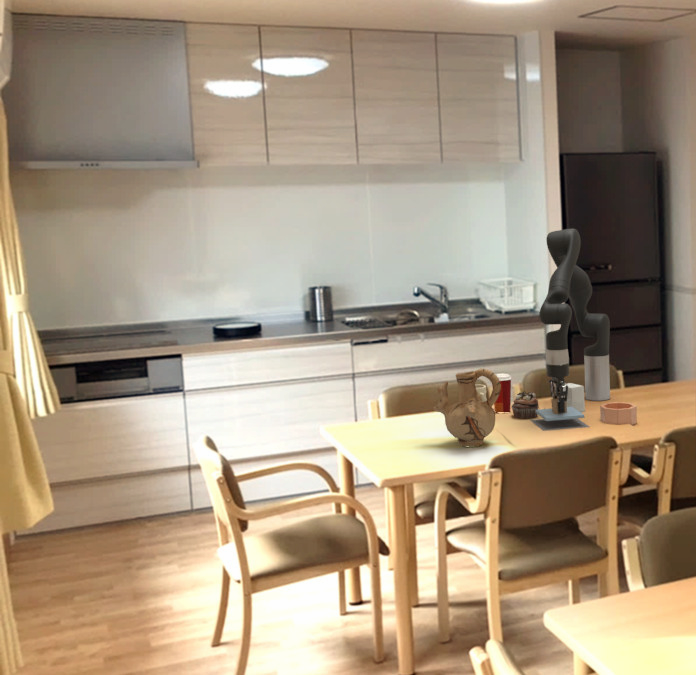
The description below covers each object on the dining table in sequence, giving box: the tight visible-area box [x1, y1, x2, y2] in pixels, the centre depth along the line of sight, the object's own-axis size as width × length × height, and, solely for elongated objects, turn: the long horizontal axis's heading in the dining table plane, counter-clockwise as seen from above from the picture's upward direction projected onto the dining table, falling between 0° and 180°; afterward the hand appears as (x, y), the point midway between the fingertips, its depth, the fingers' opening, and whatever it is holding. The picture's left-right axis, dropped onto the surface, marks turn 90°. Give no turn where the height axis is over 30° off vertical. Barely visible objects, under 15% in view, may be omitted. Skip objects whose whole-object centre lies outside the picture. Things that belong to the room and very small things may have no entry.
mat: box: [529, 418, 590, 432], centre depth 294 cm, size 16×16×1 cm
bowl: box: [599, 401, 638, 426], centre depth 293 cm, size 11×11×6 cm
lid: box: [536, 398, 585, 421], centre depth 293 cm, size 13×13×6 cm
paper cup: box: [491, 373, 513, 413], centre depth 320 cm, size 8×8×14 cm
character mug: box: [475, 383, 488, 402], centre depth 308 cm, size 11×7×13 cm, turn 18°
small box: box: [562, 382, 586, 413], centre depth 311 cm, size 8×6×10 cm
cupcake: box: [511, 391, 539, 420], centre depth 307 cm, size 10×10×10 cm
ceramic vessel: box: [432, 368, 501, 448], centre depth 276 cm, size 18×19×25 cm
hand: (559, 410), depth 293 cm, fingers closed on lid, 4 cm apart
